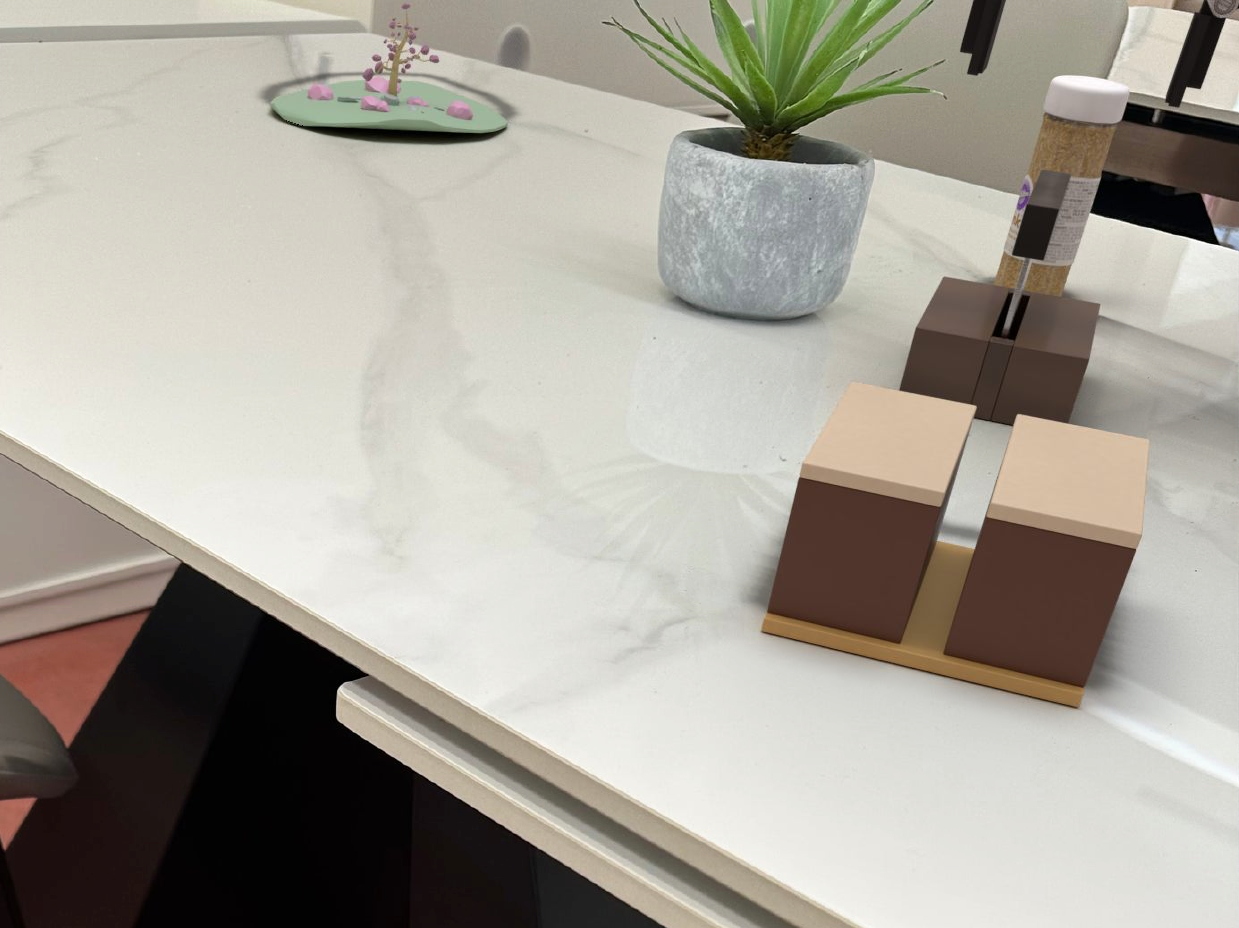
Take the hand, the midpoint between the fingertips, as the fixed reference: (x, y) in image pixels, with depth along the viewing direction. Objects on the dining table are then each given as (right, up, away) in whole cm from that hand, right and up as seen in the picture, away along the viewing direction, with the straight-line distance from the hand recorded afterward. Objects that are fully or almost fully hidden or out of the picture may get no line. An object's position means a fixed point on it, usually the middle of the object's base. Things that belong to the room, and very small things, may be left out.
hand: (1072, 87), depth 82 cm
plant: (-34, +28, +60) cm, 75 cm away
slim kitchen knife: (-1, -12, +9) cm, 15 cm away
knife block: (-1, -12, +9) cm, 15 cm away
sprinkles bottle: (+6, -3, +23) cm, 24 cm away
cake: (-12, -29, -16) cm, 36 cm away
